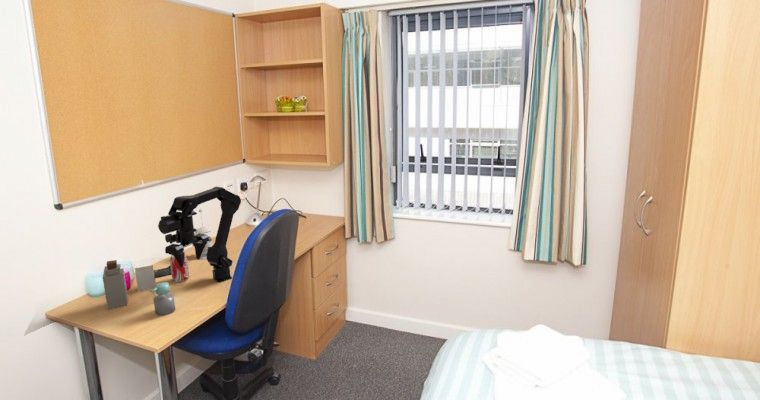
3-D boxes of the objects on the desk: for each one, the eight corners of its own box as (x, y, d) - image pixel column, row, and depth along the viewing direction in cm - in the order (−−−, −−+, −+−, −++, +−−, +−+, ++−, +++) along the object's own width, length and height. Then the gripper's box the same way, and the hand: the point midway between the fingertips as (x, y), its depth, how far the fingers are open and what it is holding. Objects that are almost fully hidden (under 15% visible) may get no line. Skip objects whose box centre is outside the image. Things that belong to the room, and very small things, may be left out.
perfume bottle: (107, 309, 172) (100, 266, 168) (109, 302, 178) (102, 260, 174) (127, 305, 175) (121, 263, 171) (128, 299, 181) (121, 257, 177)
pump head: (163, 293, 172) (162, 281, 171) (173, 295, 170) (171, 283, 169) (148, 301, 165) (146, 289, 164) (158, 303, 164) (156, 291, 163)
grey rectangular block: (155, 288, 191) (152, 266, 188) (138, 291, 188) (134, 269, 185) (155, 285, 194) (152, 264, 192) (138, 288, 191) (135, 266, 189)
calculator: (150, 273, 208) (149, 267, 208) (176, 267, 215) (175, 261, 214) (154, 279, 201) (153, 273, 200) (181, 273, 208) (180, 267, 207)
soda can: (183, 283, 195) (180, 258, 193) (169, 282, 197) (165, 257, 194) (192, 277, 202) (189, 252, 199) (179, 276, 204) (176, 251, 201)
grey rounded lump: (165, 305, 175) (163, 292, 173) (179, 308, 172) (177, 295, 171) (151, 313, 168) (149, 300, 167) (165, 316, 166) (163, 302, 165)
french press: (211, 259, 224) (206, 211, 218) (188, 259, 224) (183, 211, 219) (218, 252, 234) (214, 206, 228) (197, 252, 234) (191, 207, 228)
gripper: (187, 219, 191) (191, 253, 195) (152, 231, 174) (157, 268, 178) (208, 221, 188) (211, 256, 191) (174, 234, 171) (178, 272, 174)
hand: (190, 263), depth 184 cm, fingers open, 9 cm apart
